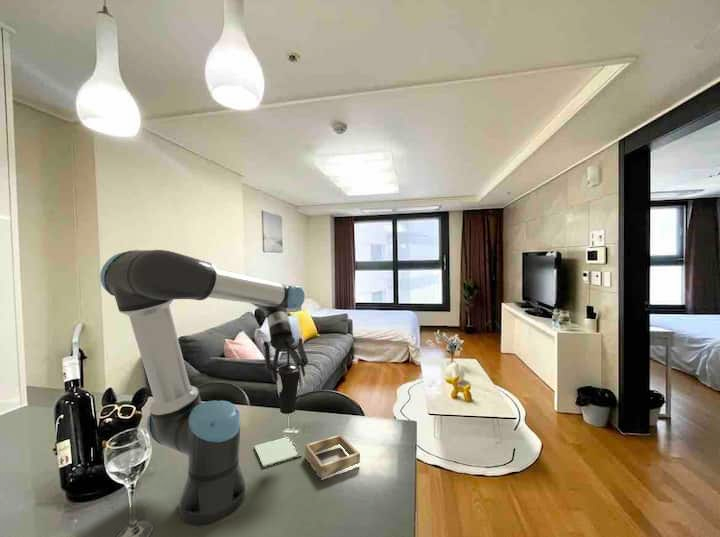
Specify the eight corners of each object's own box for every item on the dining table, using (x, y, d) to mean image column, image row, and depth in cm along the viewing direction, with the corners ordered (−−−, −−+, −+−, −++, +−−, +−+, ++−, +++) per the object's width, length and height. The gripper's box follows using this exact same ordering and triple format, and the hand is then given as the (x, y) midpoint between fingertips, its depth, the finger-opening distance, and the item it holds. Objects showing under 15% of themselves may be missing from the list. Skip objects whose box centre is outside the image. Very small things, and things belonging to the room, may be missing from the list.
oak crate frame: (321, 481, 86) (321, 466, 86) (304, 457, 97) (305, 444, 97) (359, 467, 92) (359, 453, 92) (340, 446, 103) (340, 434, 103)
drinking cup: (296, 416, 95) (297, 352, 95) (272, 415, 96) (272, 352, 96) (302, 405, 103) (303, 346, 103) (280, 404, 103) (280, 345, 103)
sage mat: (262, 468, 91) (263, 465, 91) (254, 448, 101) (254, 445, 101) (301, 456, 97) (301, 453, 97) (289, 438, 107) (289, 436, 108)
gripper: (303, 331, 118) (317, 388, 103) (250, 335, 108) (257, 399, 94) (308, 319, 113) (323, 378, 99) (253, 323, 103) (262, 388, 89)
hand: (291, 388), depth 96 cm, fingers closed on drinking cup, 6 cm apart
